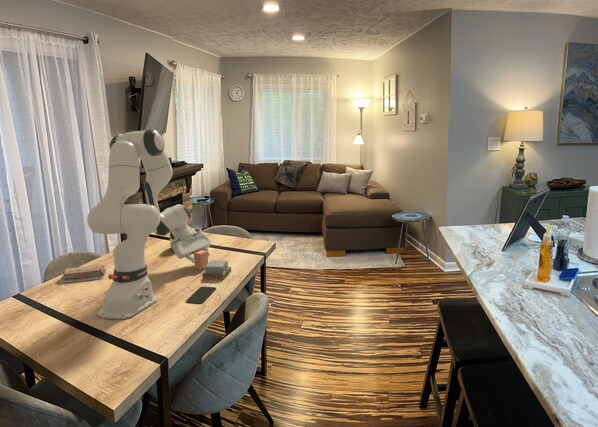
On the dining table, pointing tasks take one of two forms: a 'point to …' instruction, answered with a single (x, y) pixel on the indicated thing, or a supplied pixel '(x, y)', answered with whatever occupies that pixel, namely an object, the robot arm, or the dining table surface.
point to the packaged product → (83, 274)
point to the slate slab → (216, 266)
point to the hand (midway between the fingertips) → (201, 259)
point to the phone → (201, 295)
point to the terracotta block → (201, 259)
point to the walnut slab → (216, 275)
